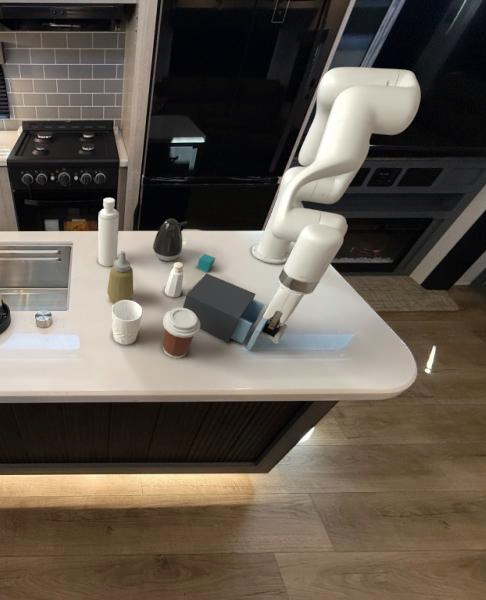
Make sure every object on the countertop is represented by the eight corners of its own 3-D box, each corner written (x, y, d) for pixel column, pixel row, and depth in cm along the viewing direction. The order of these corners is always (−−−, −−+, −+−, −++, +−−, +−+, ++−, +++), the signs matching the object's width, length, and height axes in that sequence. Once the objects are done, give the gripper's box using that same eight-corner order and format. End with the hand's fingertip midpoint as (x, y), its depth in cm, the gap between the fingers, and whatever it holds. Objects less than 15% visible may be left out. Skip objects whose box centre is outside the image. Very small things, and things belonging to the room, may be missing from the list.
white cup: (123, 321, 92) (125, 295, 85) (144, 335, 88) (148, 310, 81) (105, 335, 88) (105, 310, 81) (126, 351, 84) (128, 326, 77)
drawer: (282, 334, 87) (294, 314, 82) (268, 359, 81) (280, 340, 75) (219, 305, 96) (226, 285, 90) (202, 326, 89) (209, 306, 84)
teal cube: (202, 262, 114) (204, 253, 111) (212, 267, 112) (215, 257, 109) (196, 267, 111) (199, 258, 109) (207, 272, 109) (210, 263, 107)
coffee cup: (181, 332, 89) (189, 301, 81) (198, 356, 82) (209, 325, 74) (152, 340, 87) (157, 308, 79) (167, 365, 80) (175, 334, 72)
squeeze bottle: (130, 310, 95) (135, 262, 83) (104, 306, 97) (105, 258, 84) (133, 293, 101) (138, 245, 89) (109, 290, 102) (110, 242, 90)
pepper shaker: (174, 300, 99) (180, 272, 91) (160, 291, 102) (165, 264, 94) (184, 292, 101) (191, 265, 94) (171, 284, 104) (177, 257, 97)
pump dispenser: (182, 265, 113) (191, 227, 102) (153, 264, 113) (159, 227, 102) (177, 249, 120) (185, 212, 110) (150, 249, 120) (155, 212, 110)
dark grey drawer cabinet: (244, 318, 93) (255, 293, 86) (227, 343, 86) (238, 319, 79) (199, 297, 100) (206, 273, 93) (180, 318, 93) (186, 294, 86)
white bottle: (105, 253, 118) (106, 188, 101) (120, 259, 115) (124, 194, 98) (94, 262, 114) (94, 196, 97) (110, 268, 111) (112, 201, 94)
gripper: (290, 258, 77) (263, 311, 89) (270, 288, 68) (243, 342, 81) (324, 270, 73) (291, 324, 85) (307, 303, 65) (273, 358, 77)
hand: (268, 333), depth 83 cm, fingers closed
